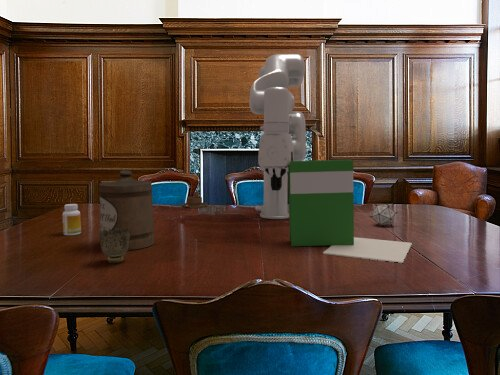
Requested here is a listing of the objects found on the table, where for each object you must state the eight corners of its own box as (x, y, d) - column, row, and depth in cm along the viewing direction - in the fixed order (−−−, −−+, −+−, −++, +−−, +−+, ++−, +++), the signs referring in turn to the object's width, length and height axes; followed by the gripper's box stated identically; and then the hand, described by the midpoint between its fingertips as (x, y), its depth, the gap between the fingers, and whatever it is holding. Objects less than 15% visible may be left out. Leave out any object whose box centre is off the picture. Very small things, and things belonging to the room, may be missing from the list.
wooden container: (99, 241, 124) (96, 168, 122) (149, 237, 130) (147, 167, 127) (103, 253, 110) (99, 171, 108) (158, 248, 116) (156, 170, 114)
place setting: (171, 208, 193) (171, 195, 193) (194, 202, 211) (194, 191, 211) (203, 210, 186) (203, 197, 185) (224, 204, 204) (224, 193, 203)
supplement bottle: (84, 232, 136) (83, 203, 135) (73, 236, 131) (71, 206, 130) (71, 231, 138) (70, 203, 137) (59, 235, 133) (58, 205, 132)
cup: (104, 258, 106) (103, 227, 105) (133, 257, 106) (132, 226, 105) (96, 266, 98) (94, 233, 97) (127, 265, 99) (126, 233, 98)
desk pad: (322, 253, 109) (322, 252, 109) (343, 237, 128) (343, 236, 128) (402, 263, 100) (402, 261, 100) (411, 244, 119) (412, 242, 119)
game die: (388, 236, 146) (400, 217, 139) (365, 227, 147) (376, 208, 141) (390, 221, 153) (402, 201, 146) (368, 212, 154) (379, 192, 147)
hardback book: (291, 246, 117) (289, 161, 115) (289, 240, 124) (288, 161, 122) (353, 244, 117) (353, 160, 114) (348, 239, 124) (347, 159, 122)
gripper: (248, 129, 124) (248, 190, 125) (295, 128, 117) (294, 192, 119) (259, 130, 130) (259, 187, 132) (304, 129, 123) (303, 190, 125)
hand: (276, 189), depth 125 cm, fingers closed
